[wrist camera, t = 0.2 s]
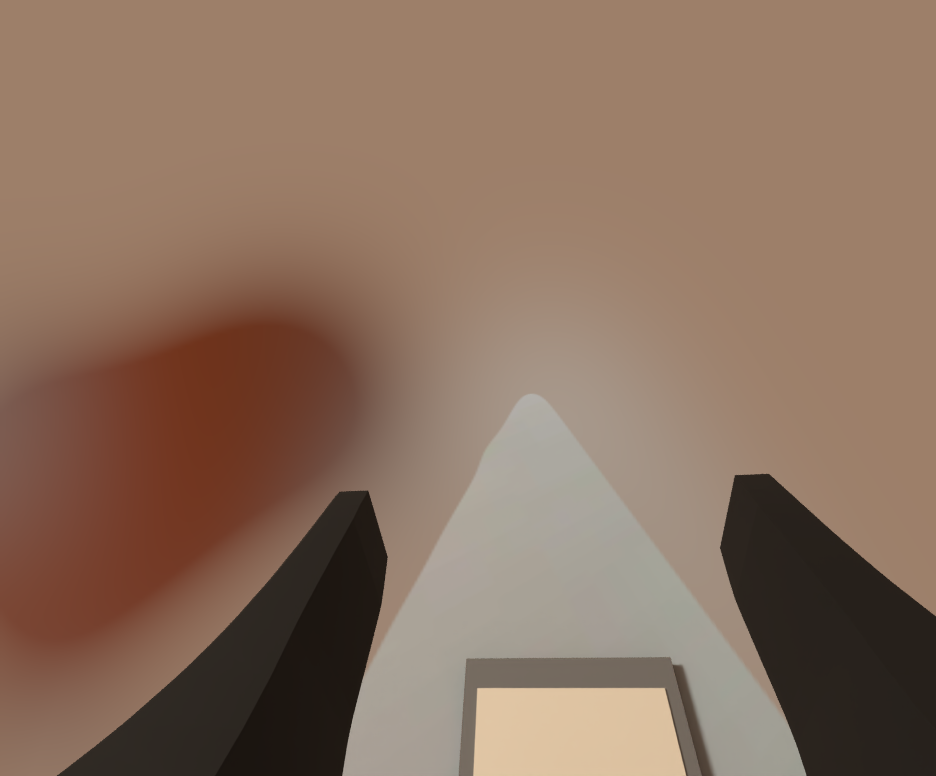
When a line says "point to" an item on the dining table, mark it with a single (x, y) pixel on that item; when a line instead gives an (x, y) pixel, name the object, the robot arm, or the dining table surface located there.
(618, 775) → the mat
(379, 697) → the dining table surface
